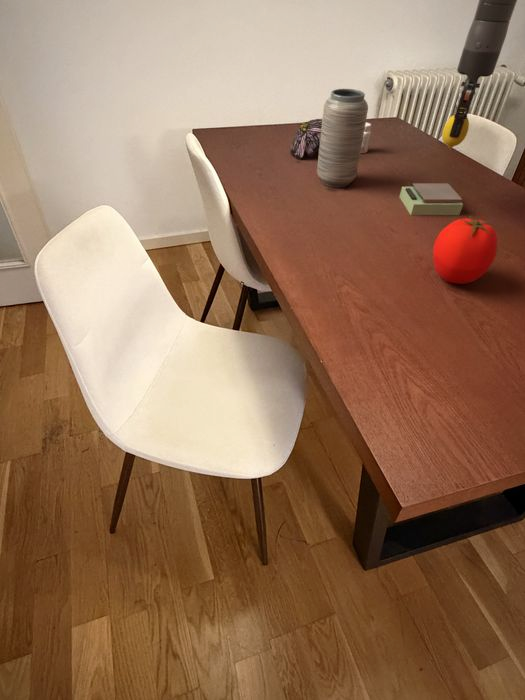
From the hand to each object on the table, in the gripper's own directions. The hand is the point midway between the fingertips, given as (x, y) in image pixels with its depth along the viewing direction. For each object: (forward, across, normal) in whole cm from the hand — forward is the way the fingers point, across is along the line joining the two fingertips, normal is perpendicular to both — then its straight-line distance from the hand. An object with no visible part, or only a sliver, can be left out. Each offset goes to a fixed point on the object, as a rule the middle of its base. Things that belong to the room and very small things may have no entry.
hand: (454, 133), depth 97 cm
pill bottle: (+18, +32, +28) cm, 46 cm away
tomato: (+18, -35, -8) cm, 40 cm away
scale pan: (+15, -1, 0) cm, 15 cm away
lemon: (+4, 0, 0) cm, 4 cm away
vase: (+18, +3, +28) cm, 34 cm away
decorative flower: (+18, +22, +43) cm, 51 cm away
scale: (+18, -2, +1) cm, 18 cm away
